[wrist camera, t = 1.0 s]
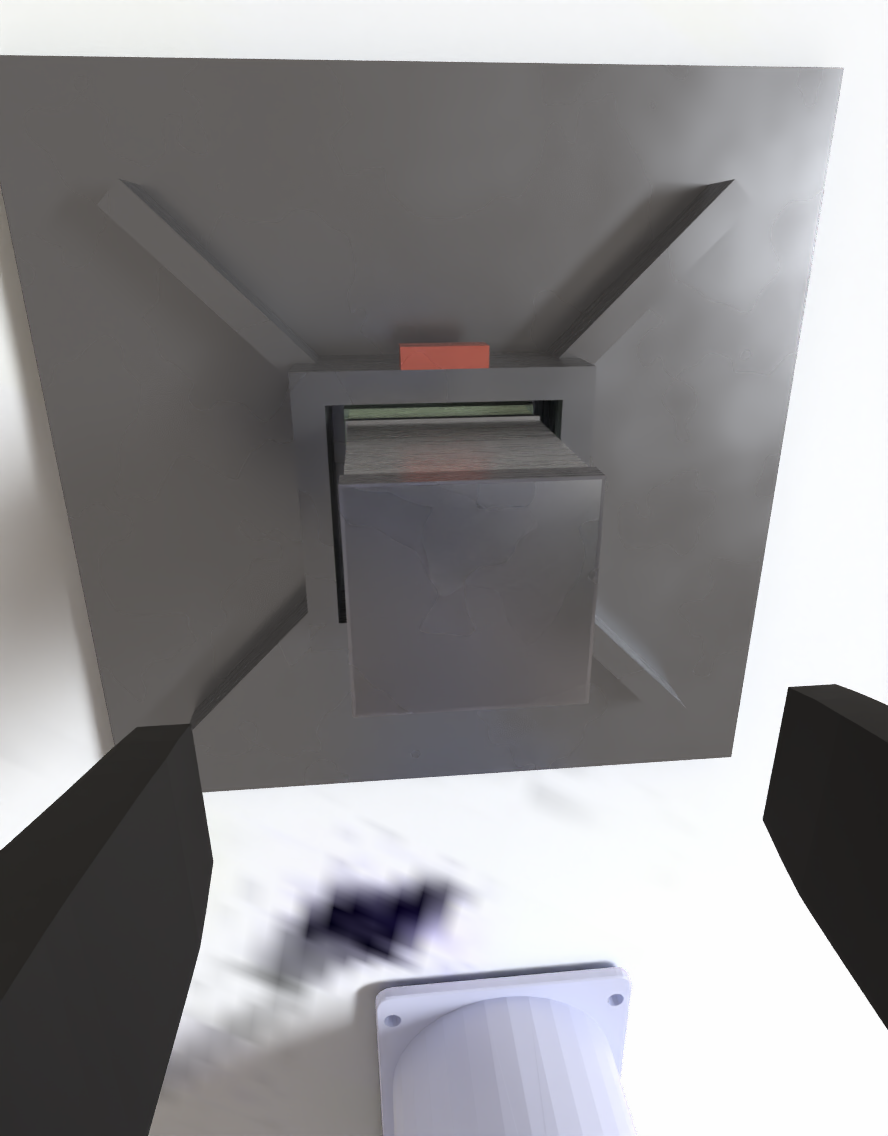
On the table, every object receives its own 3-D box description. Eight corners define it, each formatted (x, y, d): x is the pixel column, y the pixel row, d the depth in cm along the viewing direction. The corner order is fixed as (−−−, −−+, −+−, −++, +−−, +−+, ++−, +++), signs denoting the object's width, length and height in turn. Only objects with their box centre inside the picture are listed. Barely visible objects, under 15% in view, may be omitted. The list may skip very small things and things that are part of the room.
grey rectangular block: (516, 558, 18) (591, 705, 12) (353, 564, 18) (349, 720, 12) (521, 394, 17) (610, 471, 11) (344, 398, 16) (335, 481, 10)
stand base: (721, 743, 21) (774, 816, 19) (131, 782, 20) (94, 867, 17) (826, 74, 15) (928, 34, 13) (-11, 63, 14) (-103, 15, 11)
